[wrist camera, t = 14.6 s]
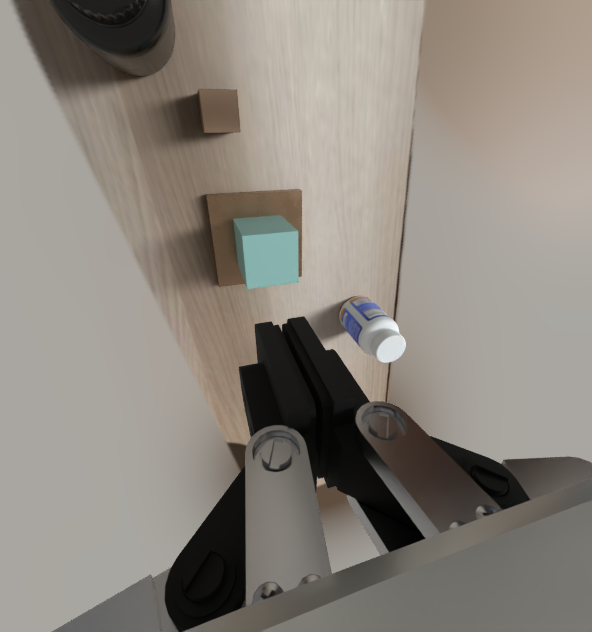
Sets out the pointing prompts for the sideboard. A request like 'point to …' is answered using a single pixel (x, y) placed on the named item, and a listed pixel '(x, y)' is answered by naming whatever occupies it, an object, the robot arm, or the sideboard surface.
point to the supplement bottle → (123, 31)
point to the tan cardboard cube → (219, 110)
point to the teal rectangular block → (266, 251)
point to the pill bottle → (372, 329)
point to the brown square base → (247, 206)
